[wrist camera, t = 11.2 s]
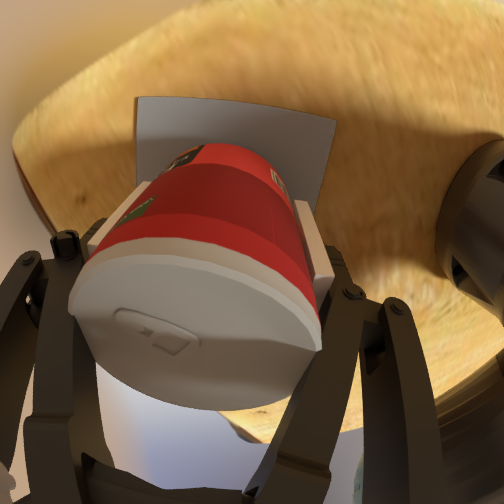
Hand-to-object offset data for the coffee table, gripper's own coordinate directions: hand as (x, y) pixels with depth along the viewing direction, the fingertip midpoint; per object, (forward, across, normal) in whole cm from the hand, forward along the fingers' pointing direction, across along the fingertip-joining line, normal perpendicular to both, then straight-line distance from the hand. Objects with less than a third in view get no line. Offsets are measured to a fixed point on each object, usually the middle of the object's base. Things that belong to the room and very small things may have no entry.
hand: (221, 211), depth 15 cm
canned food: (+1, 0, 0) cm, 1 cm away
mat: (+3, 0, 0) cm, 3 cm away
